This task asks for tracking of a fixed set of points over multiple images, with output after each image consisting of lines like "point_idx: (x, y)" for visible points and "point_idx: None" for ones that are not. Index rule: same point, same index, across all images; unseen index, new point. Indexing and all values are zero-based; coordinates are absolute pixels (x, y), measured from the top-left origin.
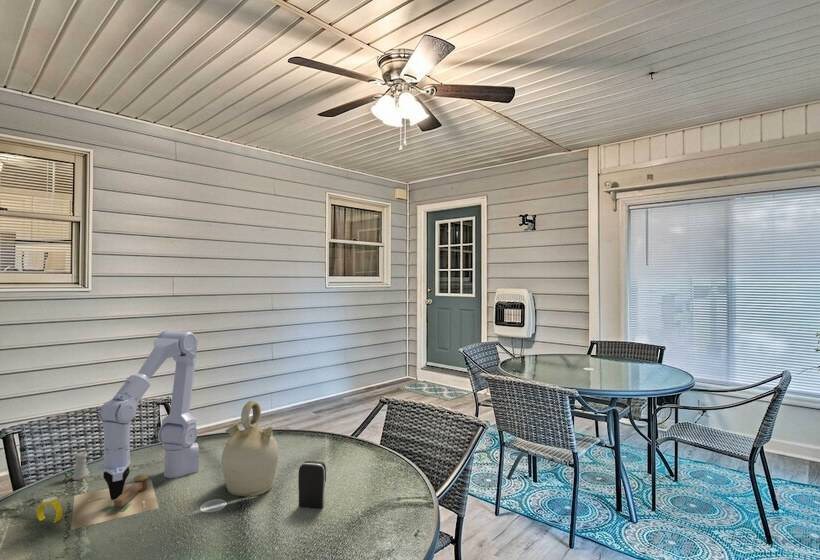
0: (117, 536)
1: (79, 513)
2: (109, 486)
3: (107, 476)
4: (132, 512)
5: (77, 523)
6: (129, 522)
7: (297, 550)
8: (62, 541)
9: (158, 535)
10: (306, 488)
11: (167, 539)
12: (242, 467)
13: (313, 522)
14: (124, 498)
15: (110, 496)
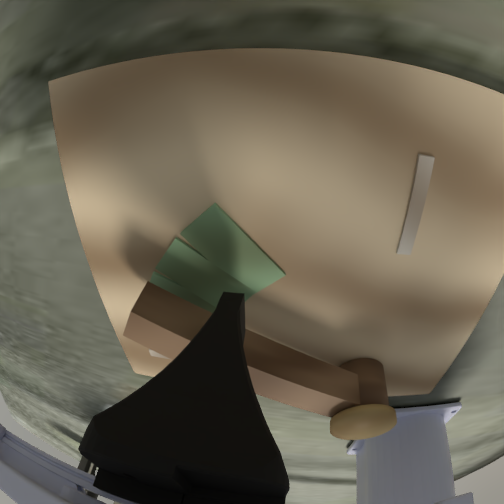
0: (10, 246)
1: (247, 90)
2: (166, 370)
3: (79, 450)
4: (125, 317)
5: (97, 97)
6: (82, 289)
7: (3, 392)
8: (16, 66)
9: (15, 320)
10: (81, 469)
11: (5, 325)
12: (114, 501)
13: (56, 429)
14: (150, 346)
15: (218, 306)
